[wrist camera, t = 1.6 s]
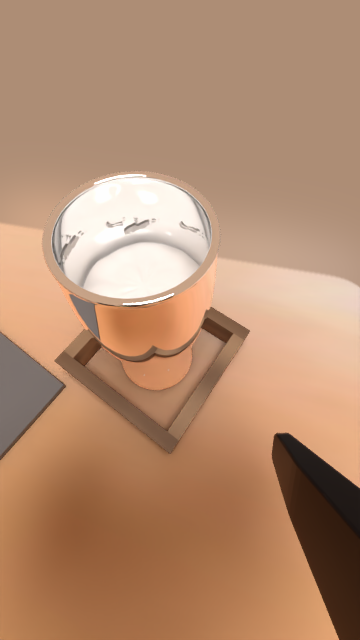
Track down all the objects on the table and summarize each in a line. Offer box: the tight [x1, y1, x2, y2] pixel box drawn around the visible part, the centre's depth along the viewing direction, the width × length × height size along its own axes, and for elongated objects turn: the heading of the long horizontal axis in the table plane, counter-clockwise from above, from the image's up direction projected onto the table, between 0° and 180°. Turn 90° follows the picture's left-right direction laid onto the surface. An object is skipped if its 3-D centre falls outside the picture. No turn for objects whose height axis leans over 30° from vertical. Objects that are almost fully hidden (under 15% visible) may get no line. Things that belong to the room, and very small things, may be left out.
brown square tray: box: [55, 307, 250, 454], centre depth 22 cm, size 11×11×2 cm
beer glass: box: [42, 171, 220, 390], centre depth 17 cm, size 7×7×15 cm
